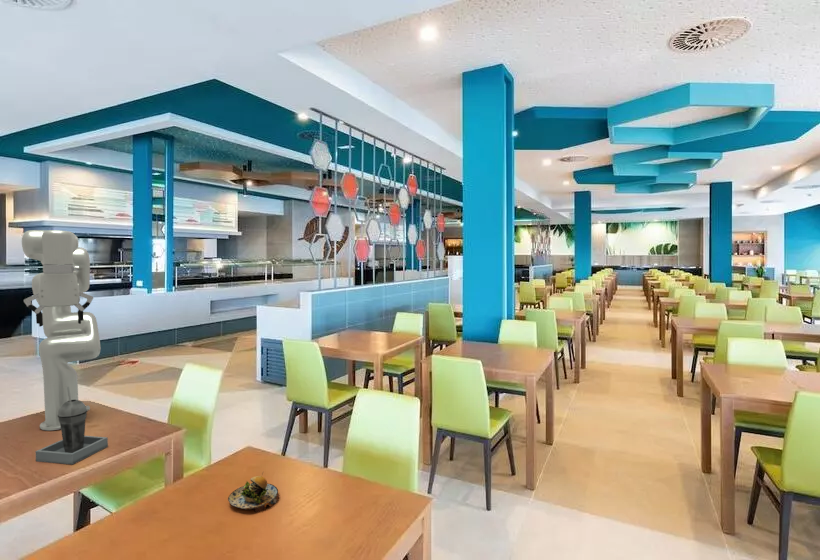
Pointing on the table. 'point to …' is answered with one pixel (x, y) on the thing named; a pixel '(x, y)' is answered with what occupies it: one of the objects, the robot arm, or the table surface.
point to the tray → (58, 455)
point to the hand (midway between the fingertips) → (60, 324)
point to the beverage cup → (72, 424)
